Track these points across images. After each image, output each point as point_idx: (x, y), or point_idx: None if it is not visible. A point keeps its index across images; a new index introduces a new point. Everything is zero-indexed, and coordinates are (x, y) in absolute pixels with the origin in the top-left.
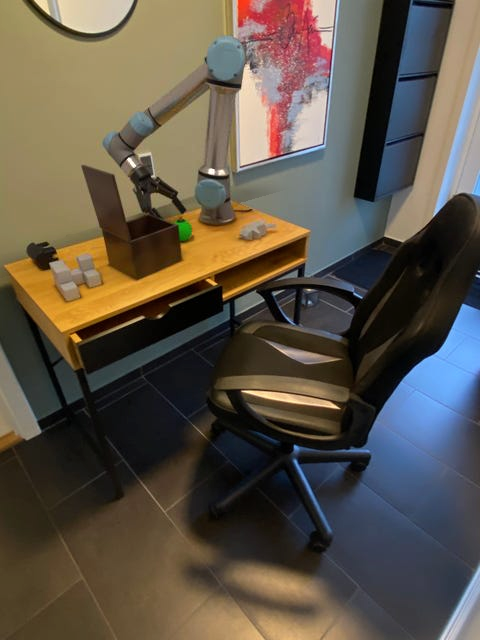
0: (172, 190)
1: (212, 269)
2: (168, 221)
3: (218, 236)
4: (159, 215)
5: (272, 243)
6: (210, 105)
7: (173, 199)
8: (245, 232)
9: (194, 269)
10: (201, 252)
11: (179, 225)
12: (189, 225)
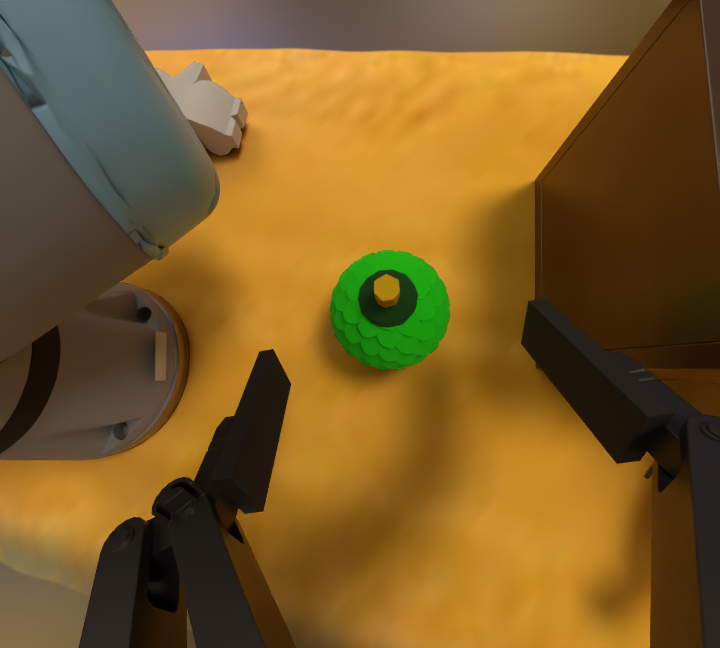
0: (136, 599)
1: (506, 55)
2: (715, 72)
3: (266, 233)
4: (582, 338)
5: (212, 56)
6: None
7: (249, 488)
8: (220, 106)
9: (553, 96)
10: (426, 177)
11: (425, 277)
12: (364, 260)
